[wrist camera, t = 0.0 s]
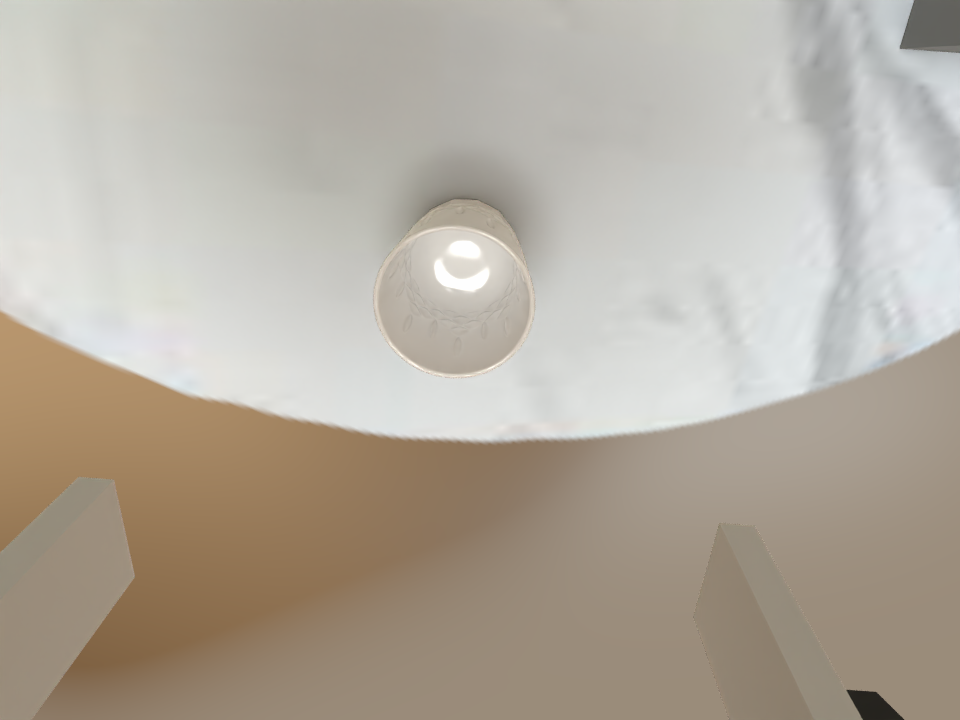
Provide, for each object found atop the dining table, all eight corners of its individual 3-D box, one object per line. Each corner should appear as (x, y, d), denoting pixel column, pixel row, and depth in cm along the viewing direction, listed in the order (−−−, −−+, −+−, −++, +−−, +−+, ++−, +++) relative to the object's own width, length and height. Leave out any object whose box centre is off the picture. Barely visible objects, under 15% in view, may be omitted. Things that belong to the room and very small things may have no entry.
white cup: (550, 225, 39) (565, 273, 30) (491, 330, 42) (488, 402, 33) (435, 164, 38) (413, 195, 29) (382, 277, 41) (348, 337, 32)
